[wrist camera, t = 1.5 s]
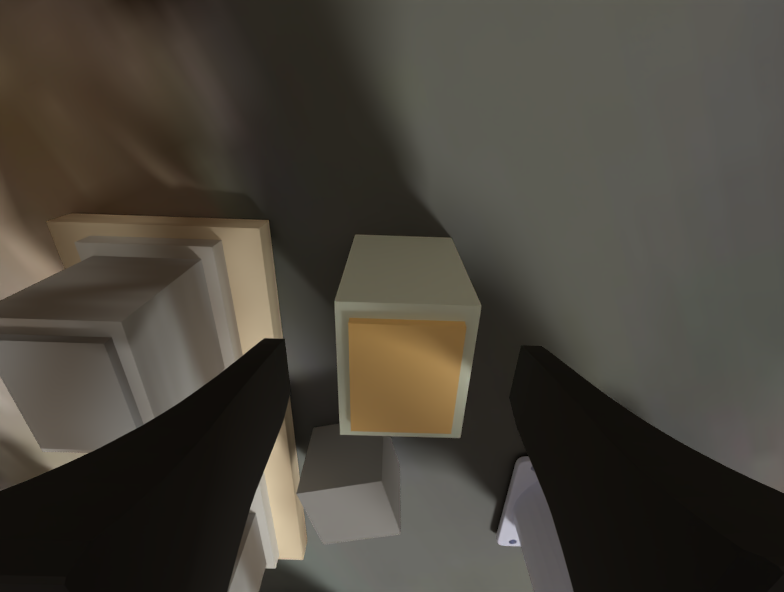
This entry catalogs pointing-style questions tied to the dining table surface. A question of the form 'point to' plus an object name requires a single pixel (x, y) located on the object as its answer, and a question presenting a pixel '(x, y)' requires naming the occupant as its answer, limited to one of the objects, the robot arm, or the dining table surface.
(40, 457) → the dining table surface
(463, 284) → the block
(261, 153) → the dining table surface
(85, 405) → the rail board
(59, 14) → the dining table surface
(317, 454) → the block
